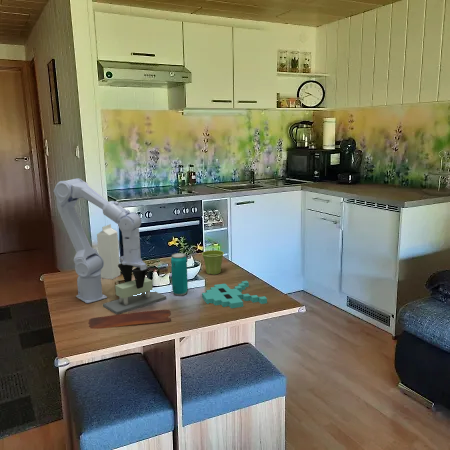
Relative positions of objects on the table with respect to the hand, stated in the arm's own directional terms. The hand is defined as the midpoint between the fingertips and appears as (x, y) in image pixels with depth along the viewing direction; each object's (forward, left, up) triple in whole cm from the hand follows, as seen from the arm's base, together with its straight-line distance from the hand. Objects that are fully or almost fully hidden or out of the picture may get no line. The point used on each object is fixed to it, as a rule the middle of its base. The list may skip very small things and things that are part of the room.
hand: (134, 285), depth 160 cm
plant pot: (-6, +42, -7) cm, 43 cm away
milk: (-33, +8, -7) cm, 35 cm away
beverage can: (+4, +17, -7) cm, 19 cm away
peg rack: (0, 0, -7) cm, 7 cm away
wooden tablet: (+12, -9, -8) cm, 16 cm away
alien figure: (+20, +28, -7) cm, 35 cm away
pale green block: (0, 0, -3) cm, 3 cm away
